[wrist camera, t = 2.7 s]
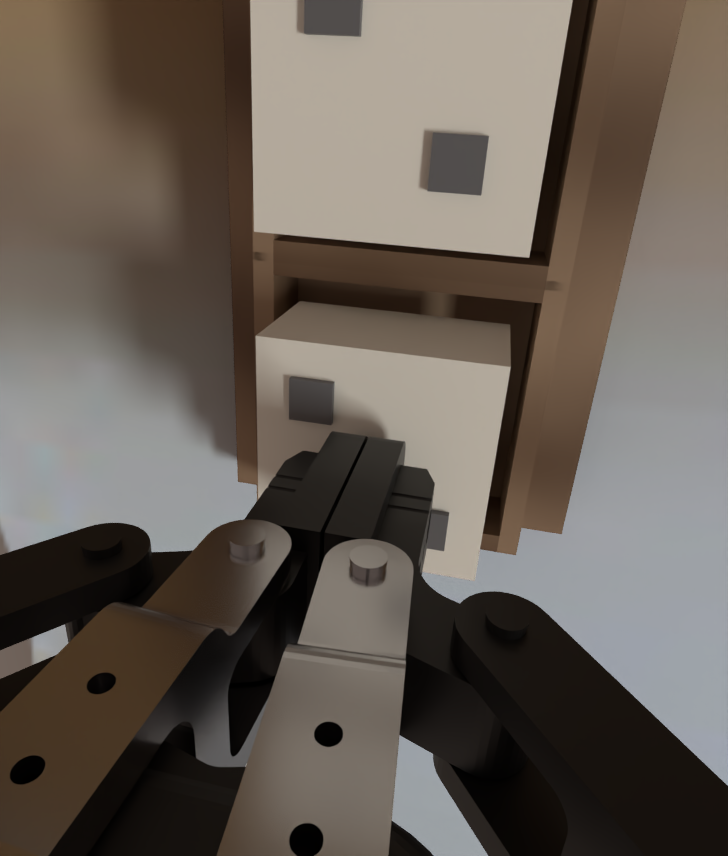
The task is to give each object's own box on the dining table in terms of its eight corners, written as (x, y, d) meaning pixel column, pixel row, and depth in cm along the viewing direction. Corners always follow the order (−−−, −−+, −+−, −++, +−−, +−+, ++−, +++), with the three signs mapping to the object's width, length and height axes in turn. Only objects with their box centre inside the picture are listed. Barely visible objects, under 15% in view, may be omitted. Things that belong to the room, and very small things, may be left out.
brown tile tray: (230, -585, 12) (138, -820, 9) (825, -659, 10) (951, -976, 7) (251, 464, 21) (211, 515, 18) (558, 512, 19) (567, 576, 17)
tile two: (305, -57, 12) (244, -116, 9) (571, -53, 11) (593, -115, 9) (301, 214, 14) (250, 233, 11) (524, 234, 13) (529, 259, 11)
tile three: (300, 301, 15) (252, 338, 12) (510, 324, 14) (510, 369, 12) (297, 480, 17) (256, 546, 14) (480, 509, 16) (474, 585, 14)
